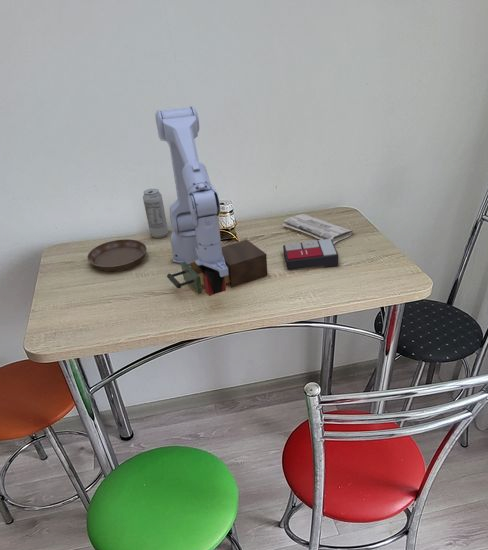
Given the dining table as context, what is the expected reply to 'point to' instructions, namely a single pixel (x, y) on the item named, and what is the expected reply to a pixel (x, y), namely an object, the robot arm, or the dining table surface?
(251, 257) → the cabinet
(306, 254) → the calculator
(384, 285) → the dining table surface
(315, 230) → the newspaper
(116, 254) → the plant saucer
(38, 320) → the dining table surface
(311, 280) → the dining table surface
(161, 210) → the energy drink can
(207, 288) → the card box
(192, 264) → the drawer
